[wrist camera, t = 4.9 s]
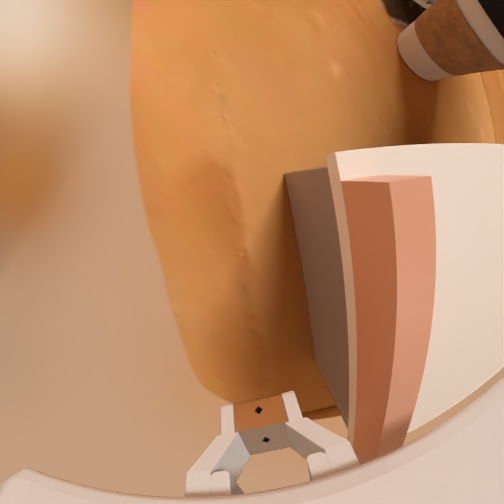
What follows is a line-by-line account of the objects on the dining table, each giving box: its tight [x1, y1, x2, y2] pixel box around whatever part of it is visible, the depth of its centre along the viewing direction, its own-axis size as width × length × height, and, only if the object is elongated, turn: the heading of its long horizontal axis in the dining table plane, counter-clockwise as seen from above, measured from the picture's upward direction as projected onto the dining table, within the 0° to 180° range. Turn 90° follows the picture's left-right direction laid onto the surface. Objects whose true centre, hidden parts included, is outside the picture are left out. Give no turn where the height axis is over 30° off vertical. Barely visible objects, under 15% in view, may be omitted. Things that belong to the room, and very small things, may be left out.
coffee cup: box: [397, 0, 504, 81], centre depth 10 cm, size 8×8×15 cm
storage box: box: [284, 166, 349, 428], centre depth 17 cm, size 16×17×10 cm
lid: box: [325, 143, 504, 465], centre depth 10 cm, size 17×18×4 cm
